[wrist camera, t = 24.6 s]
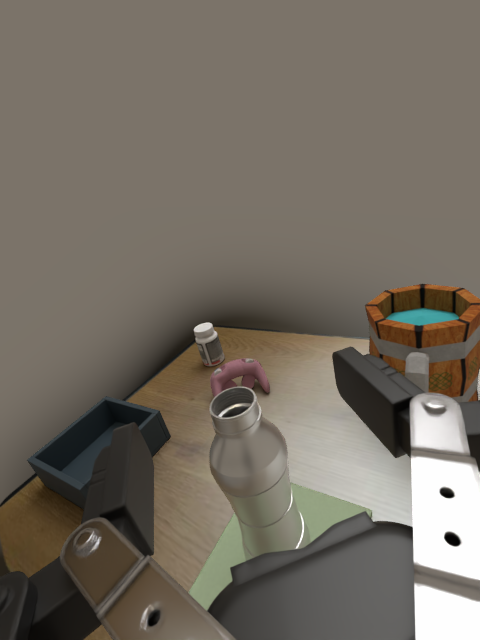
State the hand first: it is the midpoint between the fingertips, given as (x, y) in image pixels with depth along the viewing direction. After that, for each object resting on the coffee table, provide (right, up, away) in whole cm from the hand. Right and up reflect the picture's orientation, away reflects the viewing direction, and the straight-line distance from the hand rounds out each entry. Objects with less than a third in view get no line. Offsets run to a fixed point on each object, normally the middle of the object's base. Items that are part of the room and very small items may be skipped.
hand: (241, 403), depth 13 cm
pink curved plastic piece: (0, -10, +47) cm, 48 cm away
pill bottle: (-6, -6, +59) cm, 60 cm away
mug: (+25, -10, +33) cm, 43 cm away
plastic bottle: (+4, -21, +20) cm, 29 cm away
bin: (-21, -19, +39) cm, 48 cm away
